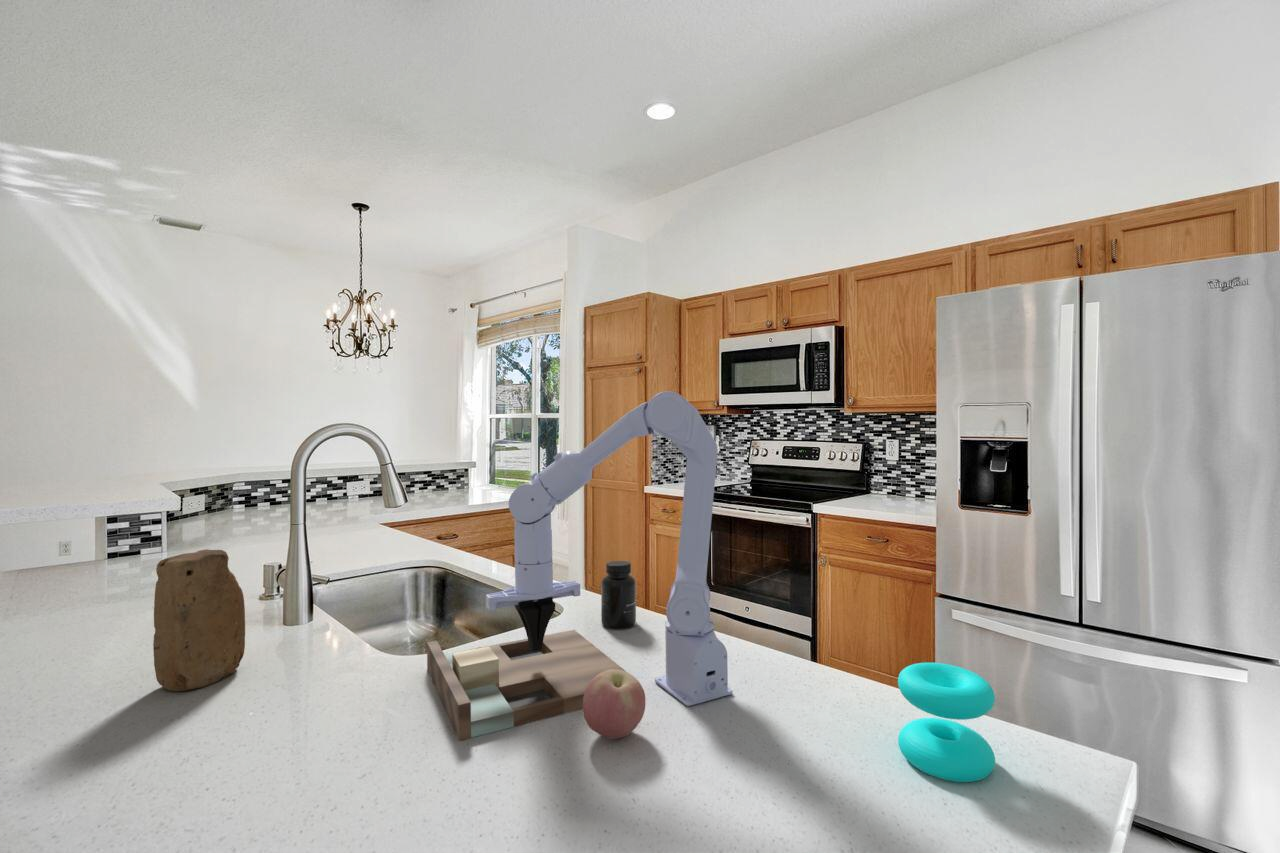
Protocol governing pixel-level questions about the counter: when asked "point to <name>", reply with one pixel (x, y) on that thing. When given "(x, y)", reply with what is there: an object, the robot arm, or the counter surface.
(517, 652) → the board
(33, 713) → the counter surface
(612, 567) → the supplement bottle
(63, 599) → the counter surface
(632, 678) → the apple
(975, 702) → the donuts
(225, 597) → the block
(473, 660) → the beech block
